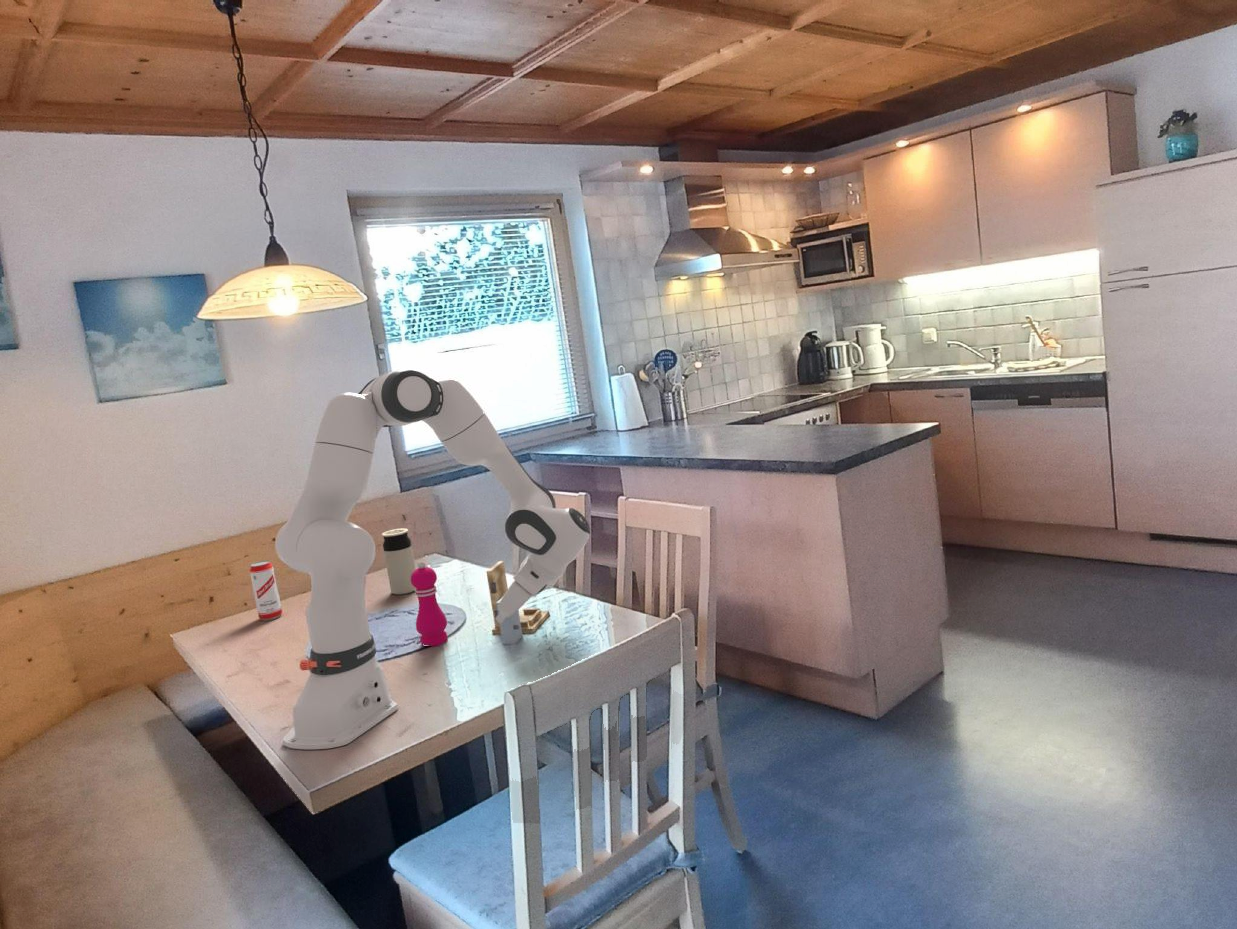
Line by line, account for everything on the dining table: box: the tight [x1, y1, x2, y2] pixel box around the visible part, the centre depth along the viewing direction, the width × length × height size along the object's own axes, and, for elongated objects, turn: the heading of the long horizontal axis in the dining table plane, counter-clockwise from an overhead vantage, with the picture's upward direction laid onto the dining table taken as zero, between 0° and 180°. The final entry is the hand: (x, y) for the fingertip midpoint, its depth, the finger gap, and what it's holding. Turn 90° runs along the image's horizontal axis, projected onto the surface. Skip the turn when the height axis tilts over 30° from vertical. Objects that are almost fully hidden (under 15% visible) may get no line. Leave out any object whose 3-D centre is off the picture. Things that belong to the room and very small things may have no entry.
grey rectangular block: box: [496, 597, 523, 645], centre depth 192 cm, size 5×4×10 cm
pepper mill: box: [411, 560, 448, 647], centre depth 196 cm, size 7×7×20 cm
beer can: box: [249, 560, 283, 622], centre depth 234 cm, size 6×6×16 cm
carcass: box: [486, 560, 550, 635], centre depth 201 cm, size 12×10×15 cm
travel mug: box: [381, 527, 417, 596], centre depth 243 cm, size 8×8×18 cm
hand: (506, 613), depth 192 cm, fingers open, 8 cm apart
